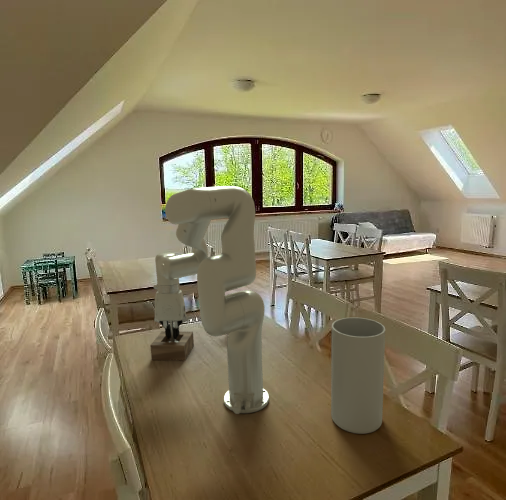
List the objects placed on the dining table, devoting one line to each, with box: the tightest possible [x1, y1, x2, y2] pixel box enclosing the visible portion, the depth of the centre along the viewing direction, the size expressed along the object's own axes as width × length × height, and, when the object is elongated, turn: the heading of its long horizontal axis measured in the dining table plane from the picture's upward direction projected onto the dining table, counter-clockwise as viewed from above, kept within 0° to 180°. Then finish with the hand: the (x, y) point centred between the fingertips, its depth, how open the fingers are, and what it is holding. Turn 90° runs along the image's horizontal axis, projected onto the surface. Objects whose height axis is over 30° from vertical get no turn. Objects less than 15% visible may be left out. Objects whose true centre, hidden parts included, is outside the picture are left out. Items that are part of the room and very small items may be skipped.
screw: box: [169, 321, 179, 342], centre depth 138 cm, size 13×5×5 cm
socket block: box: [150, 330, 195, 361], centre depth 139 cm, size 12×12×6 cm
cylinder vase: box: [330, 316, 386, 435], centre depth 96 cm, size 12×12×25 cm
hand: (172, 337), depth 138 cm, fingers closed on screw, 2 cm apart
